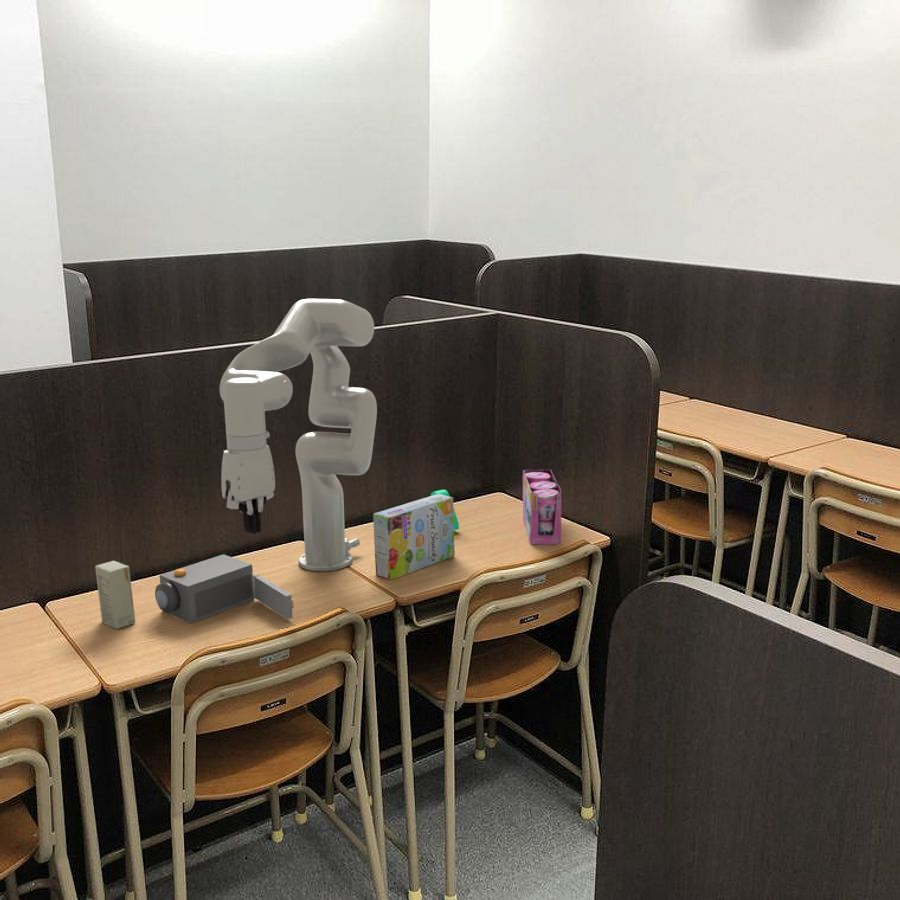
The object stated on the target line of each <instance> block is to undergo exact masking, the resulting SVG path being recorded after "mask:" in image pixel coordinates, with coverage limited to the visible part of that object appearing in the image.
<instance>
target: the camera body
mask: <svg viewBox="0 0 900 900" xmlns="http://www.w3.org/2000/svg"><path fill="white" fill-rule="evenodd" d="M253 573H254V572H253V564H251V563H250V562H246V561H243V560H240V559H238V558H235V557H232V556H229V555H227V554H224V553H223V554H220V555H217V556H214V557H211V558H208V559H205V560H201V561H199V562H196V563H193V564H190V565H187V566H184V567H180V568H177V569H175V570H174V569H173V570H171V571H167V572H165V573H161V574H159V584H157V585H156V587H155V590H154V595H155V596H154V597H155V601H156V603H157V606H158V607H159V609H160V610H161V611H162V612H164V613H165V614H168V615H171V616H173V617H175V618H177V619H180V620H181V621H184V622H186V623H188V624H193V623H196V622H199V621H202V620H204V619H207V618H209V617H212V616H215V615H217V614H220V613H223V612H225V611H228V610H231V609H233V608H236V607H238V606H241V605H244V604H248V603H250V602H251V601H255V598H254V585H253V575H254V574H253Z"/></svg>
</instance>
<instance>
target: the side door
mask: <svg viewBox="0 0 900 900" xmlns="http://www.w3.org/2000/svg"><path fill="white" fill-rule="evenodd" d="M253 586H254V600H257V601H259V602H260V603H261V604H263V605H265V607H266V606H267V607H268V608H269V609H271V610H272V611H274V612H275V613H277V614H278V615H280V616H282V617H283V618H285V619H286V620H290V619H293V608H295V607H294V600H293V599H292V594H291V593H289V592H288V591H286V590H285V589H282V587H280V586H278V585H276V584H275V583H273V582H271V581H270V580H268V579H266V578H265V577H263V576H261V575H260V574H258V573H257V574H253Z"/></svg>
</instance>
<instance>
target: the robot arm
mask: <svg viewBox="0 0 900 900" xmlns="http://www.w3.org/2000/svg"><path fill="white" fill-rule="evenodd" d="M374 322H375V321H374V319H373V317H372V315H371V313H370V312H369V311H368V310H367V309H365V308H363V307H361V306H359V305H357V304H355V303H352V302H350V301H347V300H343V299H337V298H335V299H334V298H305V299H300V300H298V301H296V302H294V304H293V305H292V306H291V308H289V311H288V312H287V313H286V315H285V316H284V317H283V320H282V321H281V322H280V324H279V325H278V326H277V328H276V329H275V332H274V333H273V334H272V335H271V336H269V337H267V338H266V337H265V339H262V340H260V341H257V342H256V343H254V344H253V345H251V346H249V347H247V348H245V349H243V350H242V351H241V352H239V353H238V354H237V355H236V356H235V357H234V358H233V360H232V361H231V362H230V363H229V365H228V366H227V368H226V370H224V372H223V375H222V377H221V380H220V384H219V395H220V398H221V400H222V401H223V406H224V407H223V408H224V422H225V434H226V435H225V436H226V447H227V449H226V450H223V455H222V461H221V479H220V480H221V495H222V498H223V499H225V500H227V501H226V508H227V509H230V510H238V511H239V512H240V513H242V518H243V519H242V521H243V528H244V531H245V532H247V533H250V534H254V535H255V534H257V533H260V532H262V526H261V525H262V521H261V520H262V519H261V513H262V512H263V510H264V506H265V504H266V502H267V501H268V500H270V499H272V498H273V497H274V496H275V492H274V491H275V489H276V475H275V467H274V462H273V456H272V452H271V449H270V446H269V445H267V444H268V443H267V439H269V438H270V432H269V431H268V430H266V429H267V428H266V427H267V426H266V425H267V424H266V414H265V413H266V411H267V412H268V411H274V410H275V411H276V410H279V409H282V408H284V407H285V406H287V405H288V403H290V401H291V399H292V396H293V392H294V391H293V390H294V389H293V388H294V387H293V383H292V381H291V379H290V378H289V377H288V376H287V375H286V374H284V373H282V372H280V371H285V370H289V369H292V368H294V367H297V366H299V365H301V364H303V363H304V362H305V361H306V360H307V358H308V357H309V355H310V356H311V359H312V365H313V369H312V370H313V371H312V379H311V387H310V393H309V394H310V395H309V401H308V402H309V403H308V417H309V418H308V419H309V420H310V422H311V423H312V424H314V425H315V426H318V427H323V428H325V427H326V428H339V429H350V430H351V431H350V433H349V432H348V433H345V432H343V433H342V432H333V431H332V432H331V431H310V432H306V433H304V434H303V435H301V436H300V437H299V439H298V440H297V441H296V445H295V458H296V463H297V467H298V470H299V475H300V482H301V483H300V484H301V497H302V498H301V499H302V520H303V538H304V539H303V540H304V543H303V544H304V554H301V556H300V557H299V558H298V565H299V566H300V568H302V569H305V570H308V571H313V572H332V571H338V570H341V569H344V568H346V567H348V566H350V564H352V563H353V555H352V553H350V552H349V551H351V549H352V548H353V549H354V548H356V547H359V546H360V544H361V542H360V539H359V538H358V537H356V538H354V539H350V540H349V539H348V538H346V535H345V534H346V531H345V529H346V528H345V506H344V501H345V500H344V490H343V489H344V488H343V486H342V483H341V482H340V480H339V479H338V477H337V475H343V476H361V475H365V474H366V473H367V471H369V469H370V466H371V463H372V457H373V452H374V451H373V449H374V443H375V442H374V440H375V434H376V433H375V432H376V425H377V419H378V418H377V415H378V406H377V405H378V404H377V400H376V396H375V395H374V393H373V392H372V391H371V390H369V389H368V388H364V387H354V386H351V387H350V385H349V382H350V374H351V367H350V364H349V362H348V360H347V358H346V356H345V355H344V353H343V352H342V351H341V349H340V348H339V347H364V346H367V345H368V344H369V343H370V342H371V341H372V339H373V336H374V334H375V323H374Z"/></svg>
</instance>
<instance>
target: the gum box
mask: <svg viewBox="0 0 900 900" xmlns="http://www.w3.org/2000/svg"><path fill="white" fill-rule="evenodd" d="M522 519H523V524H524V527H525V531H526V533H527V537H528V541H529V544H530V545H561V544H562V490H561V487H560V485H559V484H558V482H557V480H556V478H555V476H554V474H553V471H552V469H524V470H523V471H522Z"/></svg>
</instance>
